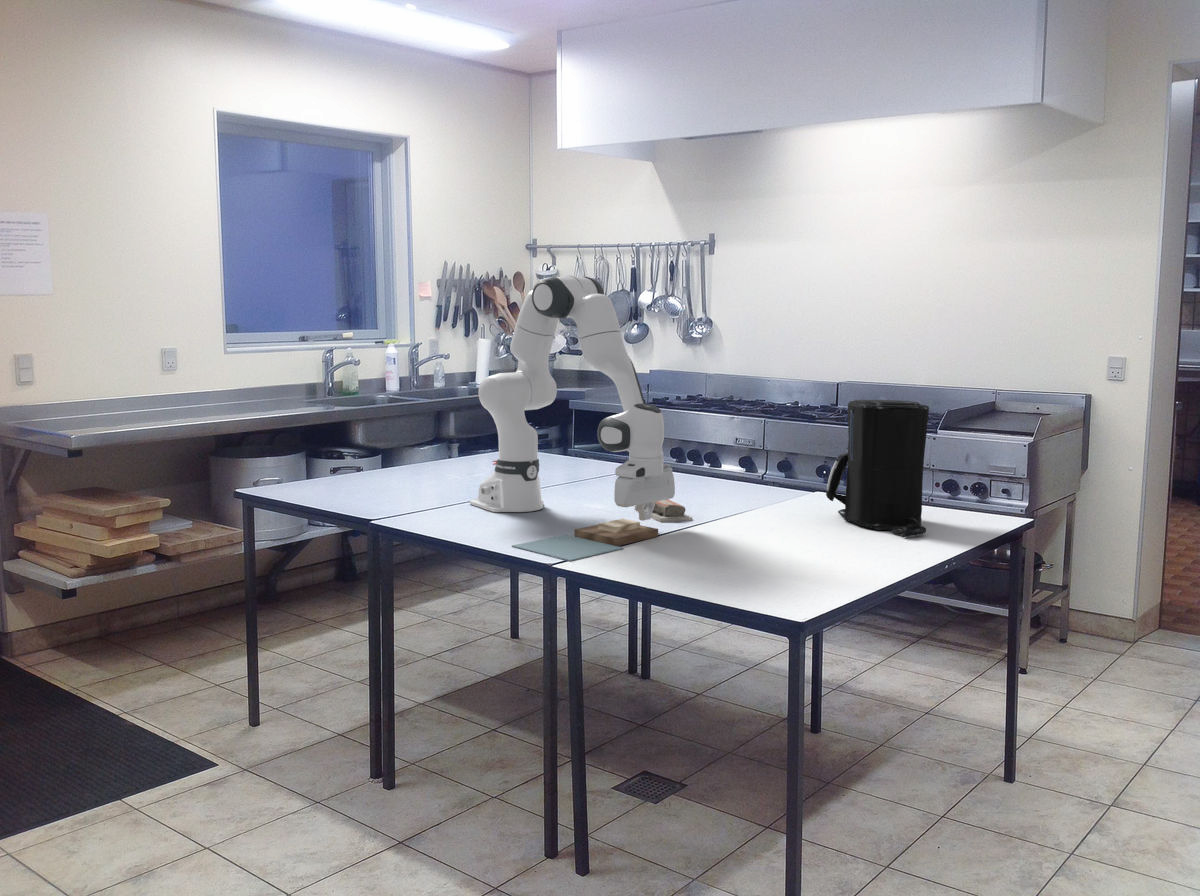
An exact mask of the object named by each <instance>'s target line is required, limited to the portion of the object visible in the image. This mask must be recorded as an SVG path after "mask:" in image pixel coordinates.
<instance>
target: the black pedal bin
mask: <svg viewBox="0 0 1200 896" xmlns="http://www.w3.org/2000/svg"><path fill="white" fill-rule="evenodd" d="M929 412H930V406H928V405H926V404H921V403H919V402H917V401H911V400H894V399H893V400H892V399H891V400H890V399H851V400H850V401H848V403H847V421H848V422H847V424H848V425H847V426H848V429H847V430H848V432H847V433H848V441H847V442H848V444H847V448H846V449H847V452H846V453H841V454H838V456H837V457H836V459H835V461H834V464H833V465H832V467H831V469H830V472H829V476H828V480H827V485H826V492H825V496H826V498H827V499H828V500H830V501H831V502H833V501H834V499H836V500H837V501H838V502H840V503H841V504H843V505H844V508H842V509H839V510H837V513H838V514H839V515H840V516H842V517H843V518H844V519H843V520H844V521H845V522H850V523H852V524H856V525H858V526H861V527H864V528H867V529H874V530H877V531H892V534H895V535H898V536H899V535H901V538H904V537H906V538H907V537H912V536H918V535H923V534H925V533H926V532H927V528H926V527H925V526H922V511H923V483H924V482H923V481H924V479H923V477H924V464H925V451H926V443H927V434H928V433H927V432H928V425H929V424H928V422H929ZM846 467H847V471H846V472H847V475H846V476H847V477H846V487H845V495H842V494H839V493H838V494H837V492H838V488H839V487H840V485H841V484H840V483H841V481H842V478H843V475H844V472H845V470H846ZM913 529H917V530H913Z"/></svg>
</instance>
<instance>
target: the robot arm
mask: <svg viewBox="0 0 1200 896" xmlns="http://www.w3.org/2000/svg"><path fill="white" fill-rule="evenodd" d="M519 310H520V311H519V313H518V316H517V318H516V319H517V320H516V324H515V327H514V330H513V334H512V339H511V342H510V347H509V349H510V353H512V355H513V357H514V358H515V359H517V368H516V371H515V372H499V373H496V374H492V375H489V376H486V377H485V378H483V379H482V381H481V382H480V384H479V387H478V394H477V395H478V399H479V402H480V403H481V406H482V407H483V408H484V409H485V410H487V411H488V413H489V414H490V415H491V417H492V418H493V421H494V424H495V426H496V430H497V439H498V459H497V460H492V465H493V466H494V465H495V467H494V472H492V473H491V474H490V475H489V476H487V478H486V479H484V480H483V481H482V482H481V483H480V484H479V486H478V494H477V495H478V498H474V499H471V500H470V501H469V504H470V505H471V506H474V507H477V508H481V509H484V510H486V511H489V512H492V513H526V512H534V511H539V510H541V509H542V510H543V508H544V500H543V498H542V490H541V481H540V476H539V471H540V459H539V458H538V452H539V451H538V446H539V445H538V441H539V440H538V439H539V437H538V432H537V430H536V429H535V428H534V427H533V426H531V425H530V424H529V422H528V421H527V418H526V415H525V414H526V413H525V411H533V410H539V409H542V408H544V407H547V406H550V405H552V403H553V402H554V401H555V400H556V399H557V395H558V394H557V393H558V388H557V383H556V380H555V379H554V377H553V376H552V374H551V373H550V367H549V366H550V365H549V361H550V354H551V349H552V346H553V341H554V338H555V334H556V331H557V328H558V323H559V320H561V319H562V320H563V319H568V318H570V319H572V320H573V321H574V323H575V325H576V328H577V331H578V332H577V333H578V338H579V345H580V349H581V353H582V355H583V356H582V357H583V358H584V360H585V362H586V364H588V365H589V366H590V367H591V368H592V369H594V370H596V371H598V372H600V373H603V375H605V376H608V378H609V379H611V380H612V382H613V383H614V385H615V387H616V389H617V393H618V397H619V399H620V401H621V406H622V409H623V411H622V412H620V413H617V414H613V415H610V416H609V415H608V416H607V417H605V418H603V419H602V420H601V421H600V422H599V424H598V427H597V432H596V433H597V434H596V435H597V440H598V443H599V445H600V446H601V447H602V448H603V449H604V450H605V451H607V452H611V453H618V452H628V454H629V455H628V456H629V457H628V458H629V459H627V460H626V461H625V462H623V463H622V464H620V465H619V466H617V467H616V468H615V471H614V472H615V476H616V477H617V478H616V479H615V481H614V493H613V494H614V495H613V496H614V503H615V505H616V506H617V507H621V508H631V507H635V506H636V508H637V510H638V512H637V513H638V519H639V521H641V522H643V521H648V520H651V514H652V511H653V509H654V507H655V502H657V501H662V500H667V499H669V500H671V499H673V498H674V497H675V494H676V486H675V483H676V482H675V477H674V473H673V468H672V466H671V465H670V464H669V463H664V451H663V443H664V441H665V424H664V423H665V422H664V415H663V412H662V410H661V409H660V408H659V407H658V406H655V405H652V404H649V403H646V401H645V398H644V395H643V391H642V387H641V385H640V381H639V378H638V373H637V371H636V368H635V365H634V362H633V361H632V359H631V358H630V356H629V354H628V352H627V349H626V347H625V343H624V341H623V337H622V336H623V335H622V331H621V327H620V323H619V319H618V315H617V311H616V310H615V307H614V305H613V302H612V300H611V298H609V296H607V295H606V294H605V292H604V288H603V286H602V284H601V283H600V282H599V281H597V280H596V279H594V278H591V277H589V276H577V275H563V276H562V275H561V276H549V277H545V278H542V279H540V280H539V281H537V282H536V283H535V285H534V286H533V289H532V290H530V291H529V292H528V293H527V295H526V296H525V299H524V301H523V302H522V305H521V307H520V309H519ZM493 462H494V463H493ZM646 505H647V506H646ZM645 507H646V510H644V508H645Z"/></svg>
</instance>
